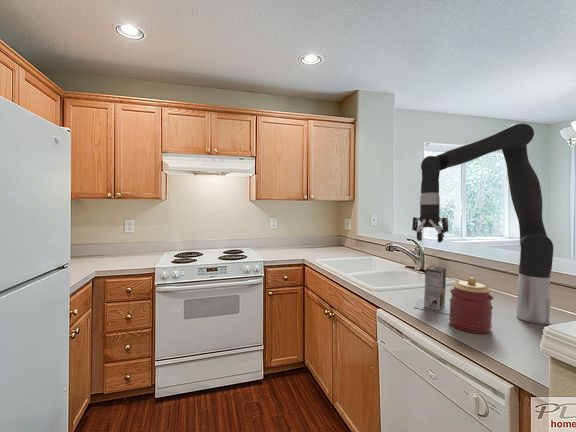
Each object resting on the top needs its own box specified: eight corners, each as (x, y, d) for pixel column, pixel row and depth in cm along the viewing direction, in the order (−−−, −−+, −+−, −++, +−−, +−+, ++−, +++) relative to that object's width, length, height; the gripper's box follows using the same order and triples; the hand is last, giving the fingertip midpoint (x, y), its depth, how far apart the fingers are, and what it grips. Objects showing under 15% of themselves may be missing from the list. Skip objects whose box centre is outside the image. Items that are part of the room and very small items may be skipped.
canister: (501, 333, 100) (504, 281, 99) (468, 336, 97) (471, 283, 97) (470, 318, 113) (472, 272, 112) (440, 320, 110) (442, 273, 109)
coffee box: (429, 301, 131) (430, 265, 130) (445, 305, 127) (446, 267, 126) (423, 307, 124) (424, 268, 123) (440, 310, 120) (441, 271, 119)
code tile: (453, 305, 128) (453, 304, 128) (452, 315, 116) (452, 314, 116) (418, 299, 135) (418, 298, 135) (413, 308, 123) (413, 307, 123)
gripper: (451, 203, 123) (450, 242, 123) (418, 204, 134) (417, 239, 135) (443, 203, 118) (442, 243, 119) (409, 203, 129) (409, 240, 130)
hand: (429, 241), depth 127 cm, fingers open, 8 cm apart
